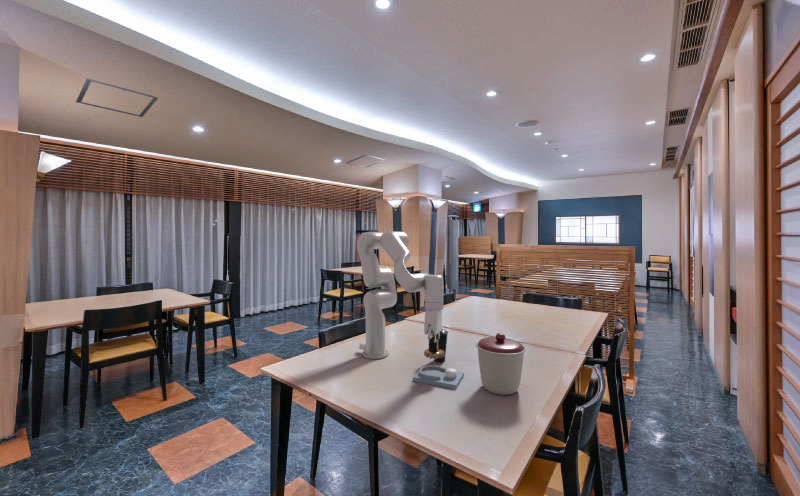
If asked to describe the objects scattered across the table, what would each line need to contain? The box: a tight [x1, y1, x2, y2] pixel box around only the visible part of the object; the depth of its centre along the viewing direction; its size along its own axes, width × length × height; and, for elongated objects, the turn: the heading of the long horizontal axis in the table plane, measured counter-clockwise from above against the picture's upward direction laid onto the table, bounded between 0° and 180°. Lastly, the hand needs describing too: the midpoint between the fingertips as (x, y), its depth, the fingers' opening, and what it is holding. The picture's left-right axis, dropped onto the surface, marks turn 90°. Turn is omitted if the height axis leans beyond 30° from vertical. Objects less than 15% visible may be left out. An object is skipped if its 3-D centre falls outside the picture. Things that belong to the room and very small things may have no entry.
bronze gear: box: [423, 339, 444, 359], centre depth 132 cm, size 8×8×6 cm
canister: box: [475, 332, 527, 396], centre depth 123 cm, size 18×18×21 cm
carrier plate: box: [412, 365, 465, 390], centre depth 132 cm, size 18×13×4 cm
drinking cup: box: [433, 328, 449, 364], centre depth 151 cm, size 8×8×20 cm
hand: (434, 349), depth 132 cm, fingers closed on bronze gear, 3 cm apart
